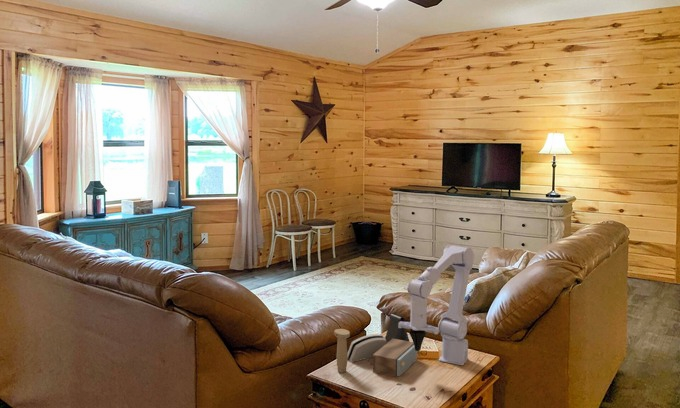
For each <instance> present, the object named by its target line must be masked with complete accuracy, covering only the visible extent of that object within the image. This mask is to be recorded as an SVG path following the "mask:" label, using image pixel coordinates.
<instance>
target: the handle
mask: <svg viewBox="0 0 680 408" xmlns="http://www.w3.org/2000/svg"><path fill="white" fill-rule="evenodd" d="M333 330H334V331H333V333H334V336H335V337H336V339H337V347H336V368H337V372H338V373H341V374H343V373H346V372H347V367H348V359H347V353H348V347H347V346H348V345H347V343H348V341H347V339H348V338H350V337H351V333H350V331H349V330H348V329H344V328H336V329H333Z"/></svg>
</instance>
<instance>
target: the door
mask: <svg viewBox="0 0 680 408" xmlns="http://www.w3.org/2000/svg"><path fill="white" fill-rule="evenodd" d="M417 360H418V351H415V347H414V345H413V346H412V347H411V348H410V349H408V350H407V351H406V352H405V353H404V354H403V355H402V356H401V357H400V358H398V359H397V376H396V377H401V376H402V375H403V373H405V372H406V371H407V369H409V368H410V367H411V366H412V365H413V364H414V363H415V362H416V361H417Z"/></svg>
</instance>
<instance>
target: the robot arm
mask: <svg viewBox="0 0 680 408" xmlns="http://www.w3.org/2000/svg"><path fill="white" fill-rule="evenodd" d="M442 253H443V255H442V256H441V257H440V258H439V259H438V261H437V262H436V263H434V265H433V266H427V268H426V269H425V270H424V271H423V273H421V274H420V275H419V276H418V277H417V279H416V278H414V279H412V280H410V281H409V283H408V284H407V285H408V286H407V290H406V291H407V293H408V295H409V297H408V298H409V300H410V318H409V319H410V321H405V322H402V321H400V322H399V323H398V328H406V330H409V334H408V335H409V336H410V338H411V340H412V342H413V343H414V347H415V351H417V352H420V351H421V348H422V344H423V342H424V339H425V337H426V335H427V334H428V333H429V334H434V335H438V334H439V333H440V336H441V337H442V342H441V343H442V347H441V348H442V351H441V356H440V357H439V358H438V361H439V362H442V363H443V362H444V363H449V364H453V365H459V366H464V365H465V363H466V362H467V361H468V359H469V354H468V353H469V341H468V339H465V337H466V335H467V332H468V327H467V324H468V320H467V318H466V316H465V315H464V314H463V309H464V304H465V298H466V293H467V288H468V283H469V278H470V271H471V270H472V269H473V264H474V259H475V253H474V251H473V249H472V248H471V247H464V246H458V245H453V244H447V246H446V247H445V248H444V249H443V252H442ZM450 266H452V267H453V269H454V271H455V274H454V280H453V284H452V287H451V294H450V299H449V305H448V309H447V311H445V312H443V313H442V314H441V317H440V320H439V322H438V325H437V326H434V325H431V324H427V322H428V319H427V318H428V317H427V316H428V297H429V296H430V295H431V292H432V290H433V287H434V286H435V284H436V283H438V282H439V280H440V279H441V274H442V273H443V272H444V271H445V270H447V269H448V268H449V267H450Z"/></svg>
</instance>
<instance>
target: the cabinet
mask: <svg viewBox="0 0 680 408" xmlns="http://www.w3.org/2000/svg"><path fill="white" fill-rule="evenodd" d="M413 345H414V343H413V341H410V340H409V341H404V340H399V339H391V340H390V341H389V342H388V343H387V344H385V345H384V346H383V347H382V348H380V349H379V350H378V351H377V352H376V353H374V354H373V357H372V373H374V374H375V373H376V374H381V375H385V376H390V377H394V378H396V377H398V376H397V359H398V358H400V357H401V356H402V355H403V354H404V353H405V352H406V351H407V350H408V349H410V348H411V347H412V346H413Z"/></svg>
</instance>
